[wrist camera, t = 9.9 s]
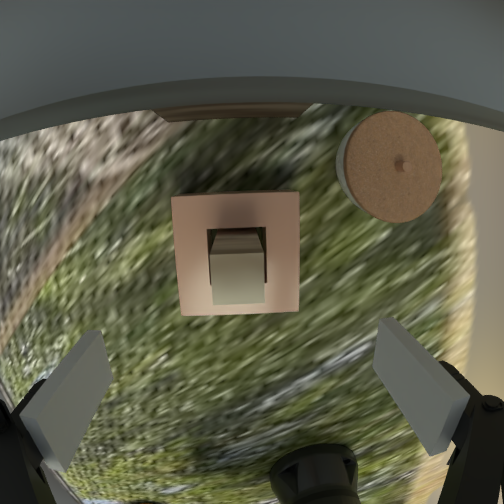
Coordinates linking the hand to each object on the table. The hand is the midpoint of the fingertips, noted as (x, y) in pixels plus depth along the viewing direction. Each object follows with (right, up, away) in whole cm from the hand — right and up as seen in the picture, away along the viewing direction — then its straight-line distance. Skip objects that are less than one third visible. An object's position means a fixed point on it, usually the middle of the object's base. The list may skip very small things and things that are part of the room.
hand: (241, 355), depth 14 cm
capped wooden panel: (-1, +17, +19) cm, 26 cm away
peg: (-1, +5, +22) cm, 23 cm away
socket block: (-1, +5, +22) cm, 23 cm away
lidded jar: (+14, +14, +21) cm, 29 cm away
